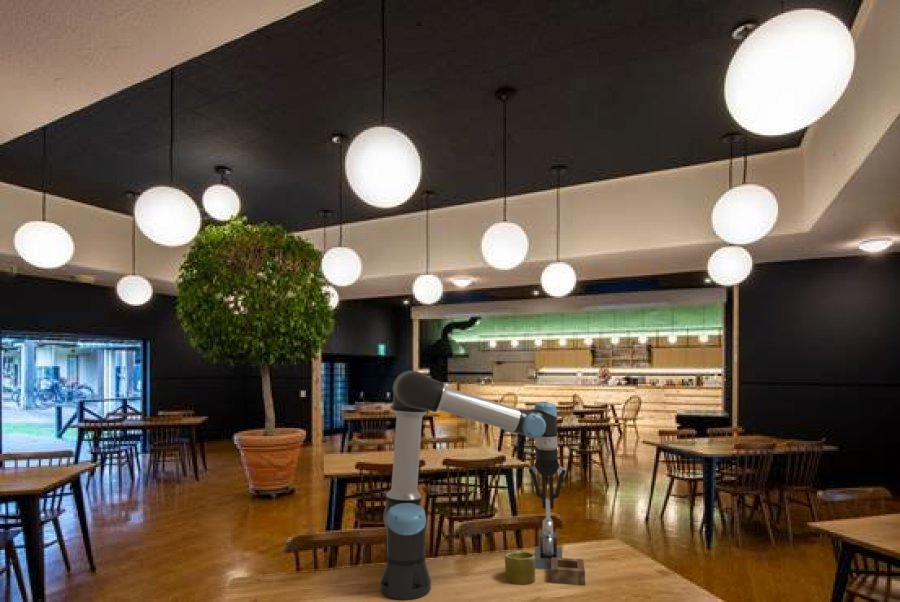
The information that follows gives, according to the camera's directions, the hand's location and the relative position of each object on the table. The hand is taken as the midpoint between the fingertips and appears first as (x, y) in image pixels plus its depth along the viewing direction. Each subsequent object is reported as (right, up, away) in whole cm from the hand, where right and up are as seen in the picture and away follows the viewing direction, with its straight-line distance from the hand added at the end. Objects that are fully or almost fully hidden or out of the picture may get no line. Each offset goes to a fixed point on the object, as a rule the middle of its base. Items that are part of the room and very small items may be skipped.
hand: (548, 518), depth 184 cm
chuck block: (-1, -14, -5) cm, 15 cm away
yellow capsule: (0, -7, -1) cm, 7 cm away
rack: (+3, -12, -17) cm, 22 cm away
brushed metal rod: (-1, -13, -7) cm, 15 cm away
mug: (-12, -13, -17) cm, 24 cm away
